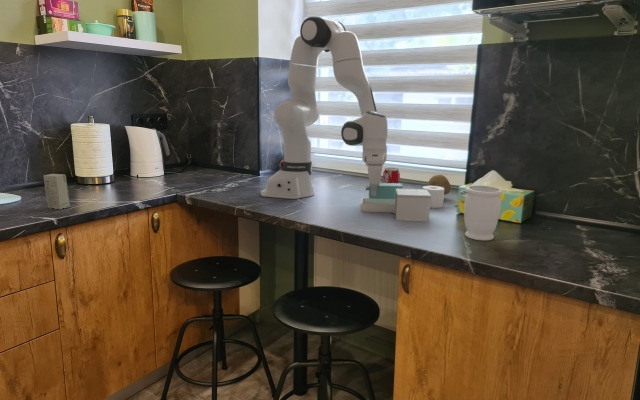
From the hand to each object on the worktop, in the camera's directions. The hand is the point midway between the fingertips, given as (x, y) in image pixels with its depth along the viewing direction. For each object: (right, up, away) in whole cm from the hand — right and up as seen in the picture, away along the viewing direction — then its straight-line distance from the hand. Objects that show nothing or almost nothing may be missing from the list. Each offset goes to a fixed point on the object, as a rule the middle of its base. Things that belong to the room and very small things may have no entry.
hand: (373, 193), depth 169 cm
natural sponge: (+29, -2, +19) cm, 35 cm away
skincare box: (-115, -6, -4) cm, 116 cm away
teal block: (+4, -2, 0) cm, 5 cm away
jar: (+29, -14, -31) cm, 44 cm away
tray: (+4, -6, +1) cm, 7 cm away
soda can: (+9, -2, +20) cm, 22 cm away
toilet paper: (+22, -5, +7) cm, 24 cm away
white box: (+12, -8, -10) cm, 18 cm away
